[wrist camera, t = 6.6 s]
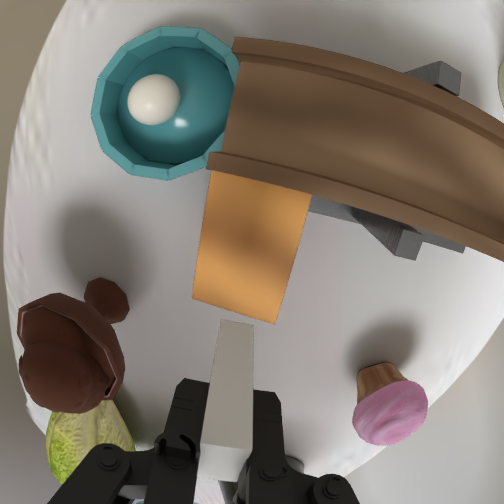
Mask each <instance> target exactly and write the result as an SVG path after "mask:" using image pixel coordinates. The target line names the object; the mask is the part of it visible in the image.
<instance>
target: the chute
mask: <svg viewBox="0 0 504 504" xmlns="http://www.w3.org/2000/svg"><path fill="white" fill-rule="evenodd" d="M231 52H232V53H233V54H234V55H235V56H236V57H237V58H238V59H239V60H240V61H241V62H240V66H239V70H238V75H237V79H236V83H235V88H234V92H233V96H232V101H231V105H230V110H229V114H228V119H227V124H226V129H225V133H224V138H223V143H222V148H221V151H217V152H209V155H208V160H207V166H206V169H208V170H212V171H211V177H210V182H209V188H208V194H207V200H206V205H205V211H204V217H203V224H202V230H201V236H200V243H199V250H198V256H197V263H196V271H195V278H194V285H193V293H192V298H193V299H196V300H199V301H202V302H205V303H208V304H211V305H214V306H217V307H220V308H223V309H226V310H229V311H233V312H236V313H239V314H242V315H245V316H249V317H252V318H255V319H258V320H262V321H265V322H269V323H272V324H275V323H276V319H277V316H278V313H279V310H280V306H281V303H282V300H283V297H284V293H285V290H286V287H287V283H288V280H289V276H290V273H291V269H292V266H293V263H294V259H295V256H296V252H297V248H298V245H299V241H300V238H301V234H302V230H303V227H304V223H305V219H306V216H307V212H308V208H309V204H310V201H311V197H312V195H315V196H319V197H322V198H326V199H329V200H333V201H336V202H340V203H343V204H346V205H350V206H353V207H356V208H359V209H363V210H366V211H369V212H372V213H375V214H378V215H381V216H384V217H388V218H391V219H394V220H396V221H399V222H402V223H405V224H408V225H411V226H414V227H417V228H420V229H422V230H425V231H428V232H431V233H433V234H436V235H439V236H441V237H444V238H447V239H449V240H452V241H454V242H457V243H460V244H462V245H465V246H467V247H470V248H472V249H475V250H477V251H479V252H482V253H484V254H487V255H489V256H491V257H494V258H496V259H498V260H501V261H503V262H504V123H502V122H501V121H499V120H497V119H496V118H494V117H492V116H491V115H489V114H487V113H486V112H484V111H482V110H480V109H479V108H477V107H475V106H473V105H471V104H470V103H468V102H466V101H464V100H462V99H460V98H458V97H456V96H454V95H452V94H450V93H448V92H446V91H444V90H441V89H439V88H437V87H435V86H433V85H430V84H428V83H426V82H423V81H421V80H419V79H416V78H414V77H411V76H409V75H406V74H403V73H401V72H398V71H395V70H392V69H390V68H387V67H384V66H381V65H378V64H375V63H371V62H368V61H365V60H361V59H358V58H354V57H351V56H347V55H343V54H339V53H335V52H331V51H327V50H322V49H318V48H313V47H308V46H303V45H297V44H291V43H285V42H278V41H271V40H263V39H254V38H243V37H235V39H234V43H233V47H232V51H231Z"/></svg>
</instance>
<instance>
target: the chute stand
mask: <svg viewBox="0 0 504 504" xmlns="http://www.w3.org/2000/svg"><path fill="white" fill-rule="evenodd" d="M403 74H406V75H409V76H411V77H414V78H416V79H419V80H421V81H423V82H426V83H428V84H430V85H433V86H435V87H437V88H439V89H441V90H444V91H446V92H448V93H450V94H452V95H454V96H459V89H460V80H461V73H460V72H459V71H457V70H456V69H454V68H452V67H451V66H449V65H447V64H446V63H444V62H442V61H438V62H435V63H432V64H429V65H426V66H423V67H420V68H417V69H414V70H411V71H408V72H405V73H403ZM308 211H310V212H314V213H318V214H322V215H326V216H331V217H335V218H339V219H343V220H347V221H351V222H355V223H359V224H362V225H363V226H364V227H365V228H366V229H367V230H368V231H369V232H370V233H371V234H372V235H374V236H375V237H376V238H377V239H378V240H379V241H380V242H381V243H382V244H383V245H384V246H385V247H386V248H387V249H388V250H389V251H390V252H391V253H392V254H393V255H395V256H399V257H403V258H407V259H411V260H416V258H417V255H418V252H419V250H420V247H421V244H422V242H423V241H424V242H427V243H431V244H434V245H437V246H440V247H444V248H447V249H450V250H453V251H457V252H460V253H463V252H464V250H465V247H466V246H465V245H462V244H460V243H457V242H454V241H452V240H449V239H447V238H444V237H441V236H439V235H436V234H433V233H431V232H428V231H425V230H422V229H420V228H417V227H414V226H411V225H408V224H405V223H402V222H399V221H396V220H394V219H391V218H388V217H384V216H381V215H378V214H375V213H372V212H369V211H366V210H363V209H359V208H356V207H353V206H350V205H346V204H343V203H340V202H336V201H333V200H329V199H326V198H322V197H319V196H315V195H312V197H311V201H310V204H309V208H308Z"/></svg>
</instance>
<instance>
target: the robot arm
mask: <svg viewBox="0 0 504 504" xmlns="http://www.w3.org/2000/svg"><path fill="white" fill-rule="evenodd" d="M253 355H254V325H249V324H244V323H238V322H233V321H228V320H222V319H221V323H220V329H219V334H218V339H217V345H216V350H215V355H214V361H213V367H212V372H211V378H210V383H206V382H201V381H196V380H191V379H187V378H184V379H183V380H182V381H181V382H180V383H179V384H178V385H177V387H176V390H175V394H174V398H173V401H172V404H171V408H170V412H169V415H168V419H167V423H166V426H165V430H164V433H162V434H161V435H159V436H158V437H157V439H156V441H155V442H154V444H155V447H154V448H153V449H150V450H147V451H124V450H123V449H122V448H121V447H119V446H117V445H114V444H112V443H102V444H98V445H96V446H95V447H93V448H92V449H91V450H90V451H89V452H88V454H87V455H86V456H85V457H84V459H83V460H82V461H81V462H80V464H79V465H78V466H77V467H76V468H75V470H74V471H73V472H72V473H71V475H70V476H69V477H68V478H67V480H66V481H65V482H64V483H63V485H62V486H61V487H60V488H59V490H58V491H57V492H56V493H55V495H54V496H53V497H52V498H51V500H50V501H49V502H48V503H47V504H132V503H133V501H134V500H135V499H144V501H139V502H137V503H136V504H193V501H194V494H195V487H196V479H197V477H202V478H208V479H215V480H218V481H219V485H220V488H221V491H222V494H223V498H224V501H225V504H360V503H359V501H358V499H357V497H356V495H355V493H354V491H353V489H352V487H351V485H350V484H349V483H348V481H347V480H346V479H345V478H343V477H342V476H340V475H336V474H326V475H323V476H321V477H319V478H317V477H313V476H310V475H306V474H304V469H303V465H302V463H301V462H300V461H298V460H296V459H294V458H291V457H288V456H285V452H284V439H283V426H282V415H281V402H280V401H279V399H278V397H277V395H276V394H275V392H268V391H260V390H253Z"/></svg>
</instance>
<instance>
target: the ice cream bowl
mask: <svg viewBox="0 0 504 504" xmlns="http://www.w3.org/2000/svg"><path fill="white" fill-rule="evenodd" d="M84 299H85V302H86V303H85V302H82V301H80V300H77V299H75V298H72V297H70V296H67V295H65V294H62V293H54V294H49V295H47V296H44V297H42V298H40V299H37V300H35V301H33V302H30V303H28V304H27V305H25V306H23V307H21V308H19V312H18V324H17V335H18V337H19V339H20V341H21V343H22V345H23V347H24V349H25V351H24V354H23V358H22V355H21V357H20V359H19V374H20V376H21V378H22V380H23V383H24V386H25V389H26V391H27V392H28V393H29V395H30V397H31V398H32V400H33V401H34V402H35V403H36V404H38V405H39V406H41V407H44V408H47V409H49V410H51V411H54V412H62V413H73V414H74V413H76V414H81V413H86V412H88V411H90V410H92V409H94V408H95V407H97V406H98V405H99V404H100V403H101V401H104V400H113V398H114V396H115V394H116V393H117V391H118V389H119V387H120V386H121V384H122V382H123V377H124V372H125V363H124V356H123V353H122V351H121V348H120V345H119V342H118V339H117V336H116V333H115V330H114V329H113V327H112V326H111V325H110V324H113V323H117V322H121V321H123V320H124V319H125V317H126V315H127V313H128V311H129V305H128V301H127V297H126V294H125V293H124V292H123V291H122V290H121V289H120V288H119V287H118V286H117V285H116V284H115V283H114V282H112V281H109V280H106V279H103V278H98V279H95V280H92V281H90V282H89V283H88V285H87V288H86V291H85V294H84Z"/></svg>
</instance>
